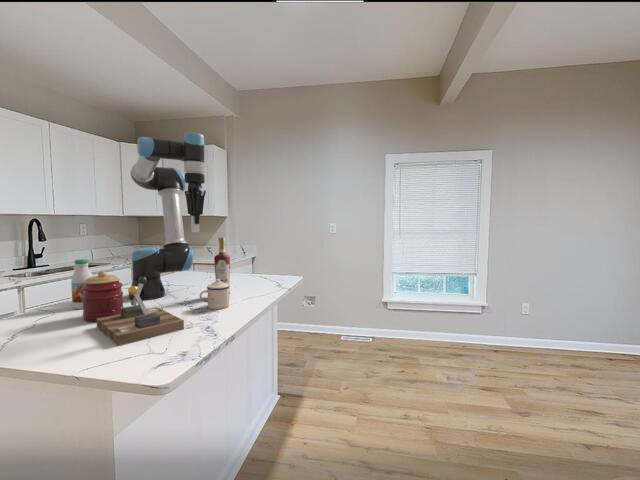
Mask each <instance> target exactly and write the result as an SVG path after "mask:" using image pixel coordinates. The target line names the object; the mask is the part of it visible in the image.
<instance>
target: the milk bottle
mask: <svg viewBox="0 0 640 480" xmlns="http://www.w3.org/2000/svg"><path fill="white" fill-rule="evenodd" d="M74 266H75V268H74V269H75V270H74V272H73V273H72V277H71V285H70V286H71V303H72V304H71V305H72V306H71V307H72V309H75V310H83V299H82V296H83V290H82V289H81V288H82V287H83V286H85V284H86V283H84V281H85V280H87V279H88V278H89V277H93V273H92V272H91V270H90V269H89V268H90V267H89V259H88V258H81V259H80V258H79V259H75V260H74Z"/></svg>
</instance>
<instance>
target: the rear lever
mask: <svg viewBox="0 0 640 480" xmlns="http://www.w3.org/2000/svg"><path fill="white" fill-rule="evenodd" d="M138 282H139V284H138V287H137V288H138V292H137V293H138V294H139V295H140V292H141V290H142V287H143V285H144V284H145V283H146V282H147V278H146V277H144V276H142V277H140V278H139V279H138ZM131 300H132V299H131ZM137 304H138V303H137V301H136V299H135V298H133V300H132V301H131V304H130V306H136V305H137Z"/></svg>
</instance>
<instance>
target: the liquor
mask: <svg viewBox="0 0 640 480" xmlns="http://www.w3.org/2000/svg"><path fill="white" fill-rule="evenodd" d="M225 243H226V238H225V237H218V244H219V247H218V248H219V249H218V254H216V255H215V256H214V257H213V258H214V259H213V260H214V261H213V262H214V275H215V281H216V280H217V279H220V280H221V282H224V283H226V284H228V285H229V286H230V273H231V271H230V269H231V256H230V255H229V254H227V253H226V245H225ZM230 294H231V292H230V291H229V295H230Z"/></svg>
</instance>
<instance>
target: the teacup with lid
mask: <svg viewBox="0 0 640 480" xmlns="http://www.w3.org/2000/svg"><path fill="white" fill-rule="evenodd" d="M206 289H207V290H203V291H201V292H200V293H199V299H200V301H201V302H203V303H207V308H208V309H210V310H223V309H227V308H229V306H230V294H229V292H230V284H229V285H228V284H226V283H224V282H221V280H220V279H217V280H216V279H215V281H213V282H212V283H211V284H208V285H207V287H206ZM204 293H207V300H204V299H203V297H202V295H203V294H204Z"/></svg>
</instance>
